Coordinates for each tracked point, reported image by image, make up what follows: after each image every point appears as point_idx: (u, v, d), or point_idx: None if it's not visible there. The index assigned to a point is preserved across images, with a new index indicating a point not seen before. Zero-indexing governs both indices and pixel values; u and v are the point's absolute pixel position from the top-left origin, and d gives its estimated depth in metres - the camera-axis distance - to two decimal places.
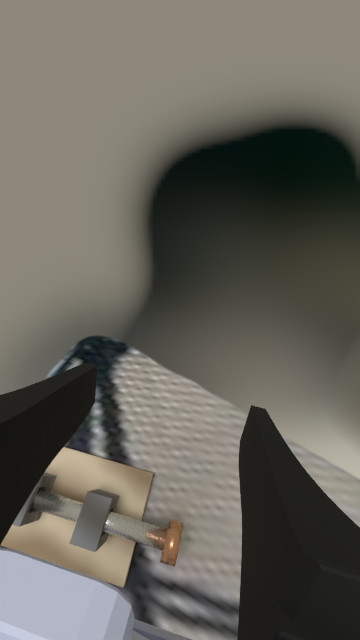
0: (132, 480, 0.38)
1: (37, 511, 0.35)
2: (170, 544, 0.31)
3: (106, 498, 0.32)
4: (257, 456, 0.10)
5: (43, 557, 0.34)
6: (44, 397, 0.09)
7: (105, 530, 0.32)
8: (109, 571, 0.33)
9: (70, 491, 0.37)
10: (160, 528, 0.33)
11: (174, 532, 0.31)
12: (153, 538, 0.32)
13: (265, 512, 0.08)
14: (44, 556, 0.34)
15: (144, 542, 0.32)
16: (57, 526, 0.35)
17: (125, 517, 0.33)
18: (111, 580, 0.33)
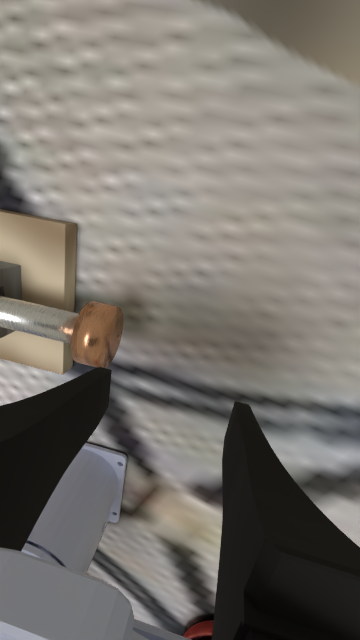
0: (33, 239, 0.20)
1: None
2: (81, 345, 0.16)
3: None
4: (237, 450, 0.10)
5: None
6: (63, 402, 0.09)
7: None
8: (39, 359, 0.23)
9: None
10: (73, 317, 0.17)
11: (88, 326, 0.16)
12: (59, 333, 0.17)
13: (240, 504, 0.08)
14: None
15: (49, 337, 0.18)
16: None
17: (12, 302, 0.18)
18: (45, 367, 0.23)
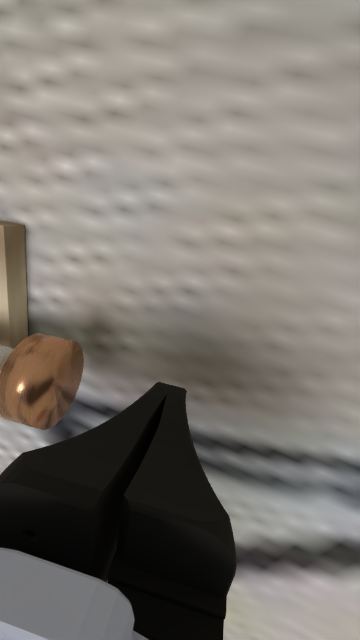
0: None
1: None
2: (9, 403, 0.11)
3: None
4: None
5: None
6: (144, 424, 0.09)
7: None
8: None
9: None
10: (7, 356, 0.12)
11: (19, 376, 0.11)
12: None
13: None
14: None
15: None
16: None
17: None
18: None
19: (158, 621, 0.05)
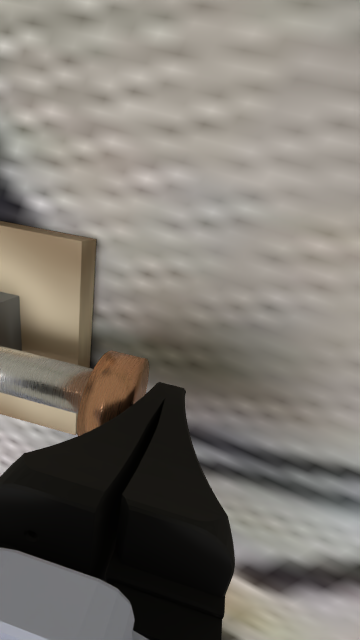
0: (36, 262, 0.14)
1: None
2: (93, 427, 0.11)
3: None
4: None
5: None
6: (145, 425, 0.09)
7: None
8: (45, 415, 0.18)
9: None
10: (80, 376, 0.12)
11: (103, 398, 0.10)
12: (60, 401, 0.12)
13: None
14: None
15: (45, 404, 0.12)
16: None
17: None
18: (52, 425, 0.18)
19: (156, 621, 0.05)
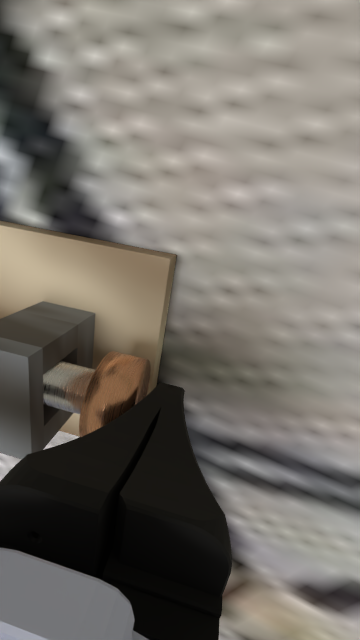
0: (117, 279, 0.14)
1: None
2: (95, 428, 0.11)
3: (13, 355, 0.10)
4: None
5: None
6: (148, 425, 0.09)
7: None
8: None
9: None
10: (82, 376, 0.12)
11: (105, 399, 0.10)
12: (62, 401, 0.12)
13: None
14: None
15: (47, 405, 0.12)
16: None
17: None
18: None
19: (153, 619, 0.05)
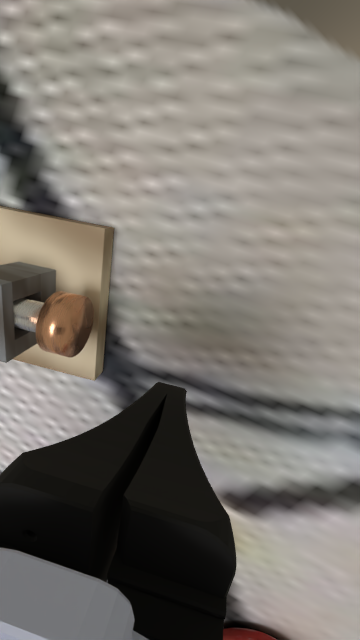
0: (70, 244, 0.19)
1: None
2: (45, 333, 0.16)
3: None
4: None
5: None
6: (144, 424, 0.09)
7: None
8: (71, 364, 0.23)
9: None
10: (41, 306, 0.18)
11: (52, 315, 0.16)
12: (27, 322, 0.17)
13: None
14: None
15: (17, 327, 0.18)
16: None
17: None
18: (76, 373, 0.23)
19: (158, 621, 0.05)
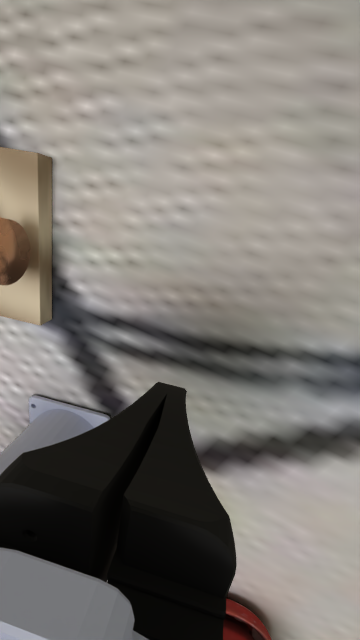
0: (4, 172, 0.19)
1: None
2: None
3: None
4: None
5: None
6: (144, 424, 0.09)
7: None
8: (16, 308, 0.22)
9: None
10: None
11: None
12: None
13: None
14: None
15: None
16: None
17: None
18: (22, 318, 0.22)
19: (158, 620, 0.05)
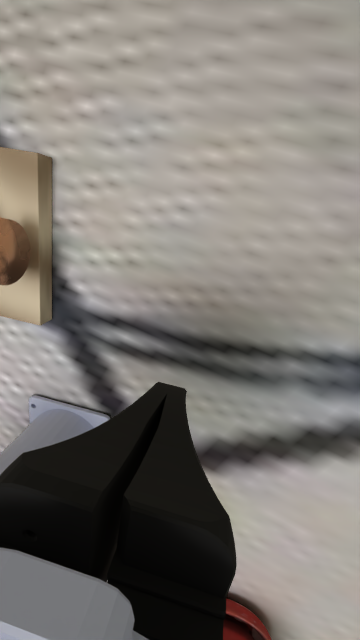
0: (4, 172, 0.19)
1: None
2: None
3: None
4: None
5: None
6: (144, 424, 0.09)
7: None
8: (16, 308, 0.22)
9: None
10: None
11: None
12: None
13: None
14: None
15: None
16: None
17: None
18: (22, 318, 0.22)
19: (158, 620, 0.05)
